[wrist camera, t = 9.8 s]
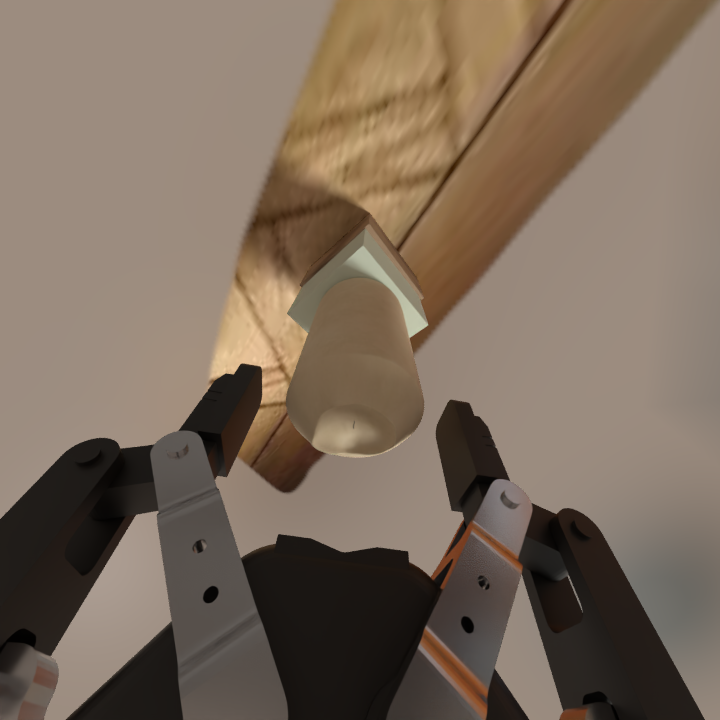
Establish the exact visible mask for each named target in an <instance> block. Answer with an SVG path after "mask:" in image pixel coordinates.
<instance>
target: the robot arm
mask: <svg viewBox="0 0 720 720" xmlns="http://www.w3.org/2000/svg"><path fill="white" fill-rule="evenodd" d="M261 399H262V369H261V367H260V366H254V365H249V364H241V365H240V366H239V367H238V369H237V370H236V372H235V374H234V375H232V374H224V375H223V376H221V377H220V378H218V379H217V380H215V381H214V383H213V384H212V385H211V387H210V388H209V389H208V392H206V394H205V395H204V396H203V398H202V400H201V401H200V402H199V403H198V405H197V406H196V407H195V409H194V410H193V412H192V413H191V414H190V416H189V417H188V419H187V420H186V421H185V423H184V424H183V425H182V427H181V428H180V429H179V431H177V432H173V433H170V434H168V435H166V436H164V437H162V438H161V439H160V440H159V441H157V442H156V443H155V444H154V445H148V446H140V447H132V448H123V449H120V447H119V445H118V443H117V442H116V441H114V440H112V439H108V438H96V439H91V440H88V441H84V442H82V443H79V444H77V445H75V446H74V447H72V448H71V449H69V450H68V451H66V452H65V453H64V454H63V455H62V456H61V457H60V458H59V459H58V460H57V461H56V462H55V463H54V464H53V465H52V466H51V467H50V468H49V469H48V470H47V471H46V472H45V474H43V476H42V477H41V478H40V479H39V480H38V481H37V482H36V483H35V484H34V485H33V486H32V487H31V488H30V489H29V490H28V491H27V492H26V493H25V494H24V495H23V496H22V497H21V498H20V499H19V500H18V501H17V502H16V504H15V505H14V506H13V507H12V508H11V509H10V510H9V511H8V512H7V513H6V514H5V515H4V516H3V517H2V518H1V519H0V720H44V716H45V713H46V710H47V707H48V705H49V703H50V700H51V698H52V696H53V694H54V691H55V689H56V685H57V682H58V676H59V670H58V666H57V663H56V661H55V660H54V659H53V658H52V657H51V655H52V653H53V651H54V650H55V648H56V646H57V645H58V643H59V641H60V640H61V638H62V636H63V635H64V633H65V631H66V630H67V628H68V626H69V625H70V623H71V621H72V620H73V618H74V617H75V615H76V613H77V612H78V610H79V608H80V607H81V605H82V603H83V602H84V600H85V598H86V597H87V595H88V593H89V592H90V590H91V588H92V587H93V585H94V583H95V582H96V580H97V578H98V577H99V575H100V574H101V572H102V570H103V569H104V567H105V565H106V563H107V562H108V560H109V559H110V557H111V555H112V554H113V552H114V550H115V549H116V547H117V545H118V544H119V542H120V540H121V539H122V537H123V535H124V534H125V532H126V530H127V529H128V527H129V525H130V524H131V522H132V520H133V519H134V517H135V516H136V515H137V514H142V513H147V512H153V511H159V513H158V514H157V524H158V531H159V538H160V545H161V551H162V558H163V565H164V571H165V578H166V585H167V592H168V599H169V606H170V613H171V619H172V621H171V622H170V623H169V624H168V625H167V626H166V627H165V628H164V629H163V630H162V631H161V632H160V633H159V634H157V635H156V637H154V638H153V639H152V640H151V641H150V642H149V643H148V644H147V645H146V646H144V647H143V648H142V649H141V650H140V651H139V652H138V653H137V654H136V655H135V656H134V657H133V658H131V659H130V660H129V661H128V662H127V663H126V664H125V665H124V666H123V667H122V668H121V669H120V670H119V671H118V672H116V673H115V674H114V675H113V676H112V677H111V678H110V679H109V680H108V681H107V682H106V683H105V684H103V685H102V686H101V687H100V688H99V689H98V690H97V691H96V692H95V693H94V694H93V695H92V696H91V697H89V698H88V699H87V700H86V701H85V702H84V703H83V704H82V705H81V706H80V707H79V708H78V709H77V710H76V711H74V712H73V713H72V714H71V715H70V716H69V717H68V718H67V719H66V720H529V719H528V717H527V716H526V714H525V713H524V711H523V710H522V708H521V707H520V705H519V704H518V702H517V701H516V700H515V698H514V697H513V695H512V693H511V692H510V691H509V689H508V688H507V686H506V685H505V683H504V682H503V680H502V679H501V677H500V676H499V674H498V673H497V671H496V670H495V664H496V661H497V657H498V654H499V651H500V647H501V644H502V640H503V637H504V633H505V630H506V626H507V623H508V619H509V616H510V612H511V609H512V605H513V602H514V598H515V594H516V591H517V588H518V584H519V581H520V577H521V574H522V576H523V579H524V583H525V586H526V589H527V592H528V596H529V599H530V602H531V606H532V609H533V612H534V616H535V619H536V622H537V626H538V629H539V632H540V636H541V639H542V642H543V646H544V649H545V652H546V655H547V659H548V662H549V665H550V669H551V672H552V675H553V679H554V682H555V685H556V688H557V692H558V695H559V698H560V702H561V705H562V708H563V713H562V714H561V716H560V719H559V720H705V719H704V717H703V716H702V714H701V712H700V710H699V708H698V706H697V704H696V703H695V701H694V699H693V697H692V695H691V694H690V692H689V690H688V688H687V686H686V685H685V683H684V681H683V679H682V677H681V675H680V674H679V672H678V670H677V668H676V666H675V665H674V663H673V661H672V659H671V658H670V656H669V654H668V652H667V650H666V648H665V647H664V645H663V643H662V641H661V639H660V637H659V636H658V634H657V632H656V630H655V628H654V627H653V625H652V623H651V621H650V620H649V618H648V616H647V614H646V612H645V610H644V608H643V607H642V605H641V603H640V601H639V600H638V598H637V596H636V594H635V592H634V590H633V589H632V587H631V585H630V583H629V581H628V580H627V578H626V576H625V574H624V572H623V570H622V569H621V567H620V565H619V563H618V561H617V560H616V558H615V556H614V554H613V552H612V551H611V549H610V547H609V545H608V543H607V541H606V540H605V538H604V536H603V534H602V533H601V531H600V530H599V528H598V527H597V526H596V525H595V524H594V523H593V521H591V520H590V519H589V518H588V517H587V516H585V515H584V514H582V513H580V512H578V511H576V510H574V509H570V508H565V509H562V510H561V511H559V512H558V513H557V514H555V513H552V512H550V511H548V510H546V509H543V508H541V507H539V506H537V505H535V504H533V503H531V501H530V499H529V497H528V496H527V494H526V493H525V492H524V491H523V490H522V489H521V488H520V487H519V486H517V485H516V484H514V483H513V482H511V481H510V480H509V477H508V475H507V472H506V470H505V467H504V465H503V463H502V460H501V458H500V456H499V453H498V450H497V448H495V443H494V441H493V439H492V436H491V434H490V431H489V429H488V427H487V426H486V424H485V423H484V422H483V421H482V419H481V418H480V417H478V416H474V414H473V411H472V408H471V406H470V404H469V403H467V402H462V401H456V400H450V401H449V402H448V403H447V406H446V407H445V410H444V412H443V414H442V416H441V418H440V420H439V422H438V424H437V428H436V440H437V444H438V449H439V453H440V459H441V463H442V468H443V473H444V477H445V482H446V487H447V491H448V496H449V501H450V505H451V510H452V511H458V512H463V517H464V520H463V521H462V523H461V524H460V526H459V528H458V530H457V532H456V534H455V535H454V537H453V540H452V541H451V543H450V545H449V547H448V549H447V551H446V553H445V554H444V556H443V558H442V560H441V562H440V564H439V565H438V567H437V568H436V570H435V571H434V573H433V575H432V576H431V577H430V576H428V575H427V574H426V573H425V572H424V571H423V570H421V569H420V568H419V567H417V566H415V565H414V564H412V563H410V562H409V557H408V551H401V550H393V549H386V548H378V547H376V548H370V549H364V550H358V551H352V552H346V553H344V552H340V551H338V550H336V549H333V548H331V547H329V546H327V545H324V544H322V543H320V542H318V541H315V540H313V539H311V538H302V537H296V536H287V535H281V534H279V535H278V537H277V541H276V544H273V545H268V546H265V547H261V548H259V549H256V550H254V551H252V552H250V553H249V554H247V555H245V556H243V557H242V558H240V554H239V551H238V548H237V545H236V542H235V538H234V535H233V532H232V529H231V526H230V523H229V520H228V516H227V513H226V510H225V507H224V504H223V500H222V497H221V495H220V491H219V489H217V487H216V483H215V479H216V477H217V476H223V477H227V476H228V474H229V472H230V469H231V467H232V465H233V463H234V461H235V459H236V457H237V454H238V452H239V450H240V448H241V446H242V444H243V442H244V439H245V437H246V435H247V433H248V431H249V429H250V426H251V424H252V422H253V420H254V418H255V416H256V414H257V411H258V409H259V407H260V404H261ZM568 575H569V576H570V579H571V581H572V583H573V586H574V588H575V591H576V593H577V595H578V598H579V600H580V603H581V606H582V610H583V613H582V610H581V608H580V606H579V603H578V601H577V598H576V596H575V594H574V591H573V589H572V586H571V584H570V581H569V579H568Z"/></svg>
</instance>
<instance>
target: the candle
mask: <svg viewBox="0 0 720 720" xmlns="http://www.w3.org/2000/svg"><path fill="white" fill-rule="evenodd" d="M286 407H287V412H288V415H289V418H290V420H291V422H292V424H293V425H294V427H295V428H296V429H297V430H298V432H299V433H300V434H301V435H302V436H303V437H304V438H306V439H307V440H308V441H309V442H310V443H311V444H312V446H313V447H314V448H316V449H318V450H320V451H322V452H325V453H328V454H332V455H339V456H345V457H369V456H374V455H379V454H381V453H385V452H387V451H389V450H391V449H393V448H394V447H396V446H398V445H399V444H401V443H402V442H403V441H404V440H406V439H407V438H408V437H409V436H410V435H411V434H412V433H413V432H414V431H415V430H416V428H417V427H418V425H419V423H420V422H421V419H422V416H423V412H424V399H423V393H422V389H421V385H420V381H419V376H418V373H417V368H416V364H415V360H414V356H413V351H412V347H411V343H410V339H409V335H408V331H407V326H406V322H405V318H404V314H403V311H402V307H401V305H400V302H399V300H398V299H397V297H396V296H395V294H394V293H393V292H392V291H391V290H390V289H389V288H388V287H386V286H385V285H384V284H382V283H380V282H378V281H376V280H373V279H369V278H350V279H347V280H344V281H341V282H339V283H337V284H336V285H334V286H333V287H332V288H330V289H329V290H328V291H327V292H326V294H325V295H324V296H323V298H322V299H321V301H320V303H319V306H318V308H317V311H316V314H315V316H314V319H313V322H312V325H311V327H310V330H309V333H308V336H307V338H306V341H305V344H304V347H303V350H302V352H301V355H300V358H299V361H298V363H297V366H296V369H295V372H294V374H293V377H292V380H291V383H290V386H289V388H288V391H287V396H286Z"/></svg>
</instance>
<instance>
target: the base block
mask: <svg viewBox="0 0 720 720" xmlns="http://www.w3.org/2000/svg"><path fill="white" fill-rule="evenodd" d="M365 228H366V230H367V231H368V232H369V234H370V235H371V236H372V237H373V239H374V240H375V241H376V242H377V244H378V245H379V246H380V247H381V249H382V250H383V251H384V252H385V254H386V255H387V256H388V258H389V259H390V260H391V261H392V263H393V264H394V265H395V266H396V268H397V269H398V270H399V271H400V273H401V274H402V275H403V277H404V278H405V279H406V280H407V282H408V283H409V284H410V285H411V287H412V288H413V289H414V290H415V292H416V293H417V294H418V296H419V298H420V300H422V299H423V298H424V296H423V293H422V291H421V288H420V285H419V282H418V280H417V277H416V276H415V274H414V273H413V272H412V270H411V269H410V268H409V266H408V265H407V263H406V262H405V261H404V259H403V258H402V257H401V255H400V254H399V252H398V251H397V250H396V248H395V247H394V246H393V244H392V243H391V241H390V240H389V239H388V237H387V236H386V235H385V233H384V232H383V230H382V229H381V228H380V226H379V225H378V224H377V222H376V221H375V219H374V218H373V217H372V215H371V214H368V215H367V216H366V217H365V218H364V219H363V220H362V221H361V222H360V223H358V224H357V225H356V226H355V227H354V228H353V229H352V230H351V231H350V232H348V233H347V234H346V235H345V236H344V237H343V238H342V239H341V240H340V241H338V242H337V243H336V244H335V245H334V246H333V247H332V248H331V249H330V250H328V251H327V252H326V253H325V254H324V255H323V256H322V257H321V258H320V259H318V260H317V261H316V262H315V263H314V264H313V265H312V266H311V267H310V269H309V270H308V272H307V274H306V275H305V277H304V279H303V280H302V282H301V284H300V286H301V287H303V285H305V284H306V283H307V282H308V281H309V280H310V279H311V278H312V277H313V276H314V275H315V274H316V273H318V272H319V271H320V270H321V269H322V268H323V267H324V266H325V265H326V264H327V263H328V262H329V261H331V260H332V259H333V258H334V257H335V256H336V255H337V254H338V253H339V252H340V251H341V250H342V249H344V248H345V247H346V246H347V245H348V244H349V243H350V242H351V241H352V240H353V239H354V238H355V237H356V236H358V235H359V234H360V233H361V232H362V231H363V230H364V229H365Z"/></svg>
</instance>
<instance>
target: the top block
mask: <svg viewBox="0 0 720 720" xmlns="http://www.w3.org/2000/svg"><path fill="white" fill-rule="evenodd" d="M350 278H369V279H373V280H376V281H378V282H380V283H382V284H384V285H385V286H386V287H388V288H389V289H390V290H391V291H392V292H393V293H394V294H395V296H396V297H397V299H398V300H399V302H400V305H401V307H402V311H403V314H404V318H405V322H406V326H407V331H408V335H409V338H410V337H411V336H413V335H414V334H416V333H417V332H419V331H420V330H422V329H423V328H425V327H426V326H428V322H427V319H426V316H425V313H424V310H423V307H422V304H421V301H420V298H419V296H418V294H417V293H416V292H415V290H414V289H413V288H412V287H411V285H410V284H409V283H408V282H407V280H406V279H405V278H404V277H403V275H402V274H401V273H400V271H399V270H398V269H397V268H396V266H395V265H394V264H393V263H392V261H391V260H390V259H389V258H388V256H387V255H386V254H385V252H384V251H383V250H382V249H381V247H380V246H379V245H378V244H377V242H376V241H375V240H374V239H373V237H372V236H371V235H370V234H369V232H368V231H367V230H366V228H365V229H364V230H363V231H362V232H361V233H360V234H359V235H358V236H356V237H355V238H354V239H353V240H352V241H351V242H350V243H349V244H348V245H347V246H346V247H345V248H344V249H342V250H341V251H340V252H339V253H338V254H337V255H336V256H335V257H334V258H333V259H332V260H331V261H329V262H328V263H327V264H326V265H325V266H324V267H323V268H322V269H321V270H320V271H319V272H318V273H316V274H315V275H314V276H313V277H312V278H311V279H310V280H309V281H308V282H307V283H306V284H305V285H303V287H302V288H301V290H300V292H299V294H298V295H297V297H296V299H295V301H294V302H293V304H292V306H291V308H290V309H289V311H288V313H287V314H288V315H289V316H290V317H291V318H292V319H293V320H295V321H296V322H297V323H298V324H299V325H300V326H301V327H302V328H303V329H304V330H305V331H306V332H307V333H309V330H310V327H311V325H312V322H313V319H314V316H315V314H316V311H317V308H318V306H319V303H320V301H321V299H322V298H323V296H324V295H325V294H326V292H327V291H328V290H329V289H330V288H332V287H333V286H334V285H336V284H337V283H339V282H341V281H344V280H347V279H350Z"/></svg>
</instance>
